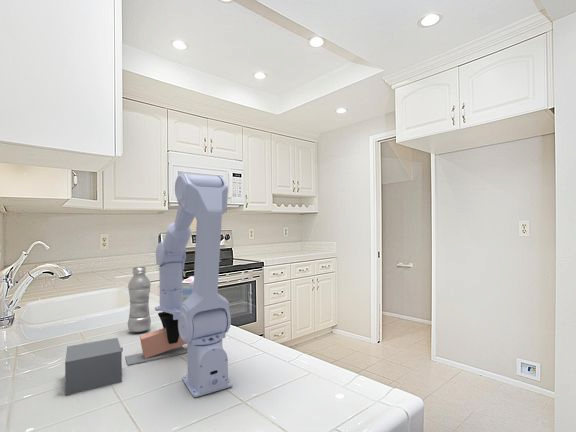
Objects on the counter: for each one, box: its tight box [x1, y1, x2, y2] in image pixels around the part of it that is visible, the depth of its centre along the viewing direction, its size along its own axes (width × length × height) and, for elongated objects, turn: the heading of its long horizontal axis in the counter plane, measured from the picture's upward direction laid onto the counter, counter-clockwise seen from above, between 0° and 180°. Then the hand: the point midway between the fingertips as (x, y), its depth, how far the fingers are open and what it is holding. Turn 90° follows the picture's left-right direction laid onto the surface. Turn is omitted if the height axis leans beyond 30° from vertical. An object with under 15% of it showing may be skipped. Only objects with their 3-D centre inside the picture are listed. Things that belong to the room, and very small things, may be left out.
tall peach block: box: [139, 327, 187, 359], centre depth 85 cm, size 3×11×5 cm, turn 123°
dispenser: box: [64, 337, 124, 396], centre depth 72 cm, size 10×10×6 cm
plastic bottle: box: [127, 266, 152, 333], centre depth 104 cm, size 6×7×20 cm
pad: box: [124, 345, 187, 367], centre depth 84 cm, size 6×14×1 cm, turn 122°
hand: (171, 340), depth 86 cm, fingers closed on tall peach block, 3 cm apart
